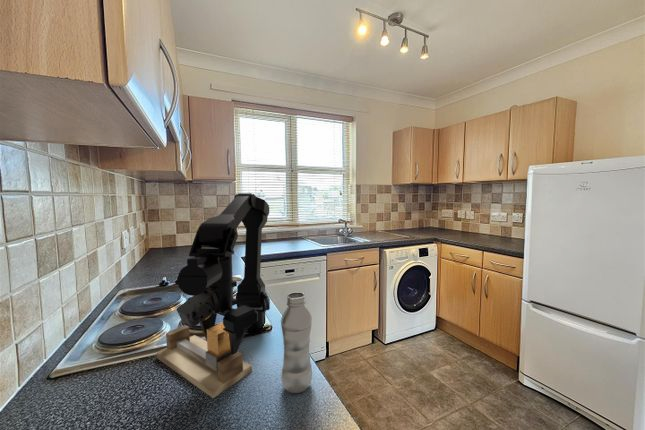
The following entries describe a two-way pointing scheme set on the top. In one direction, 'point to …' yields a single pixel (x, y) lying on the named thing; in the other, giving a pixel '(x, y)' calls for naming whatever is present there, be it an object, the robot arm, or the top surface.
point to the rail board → (201, 362)
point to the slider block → (217, 345)
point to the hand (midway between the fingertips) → (221, 346)
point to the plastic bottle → (296, 344)
